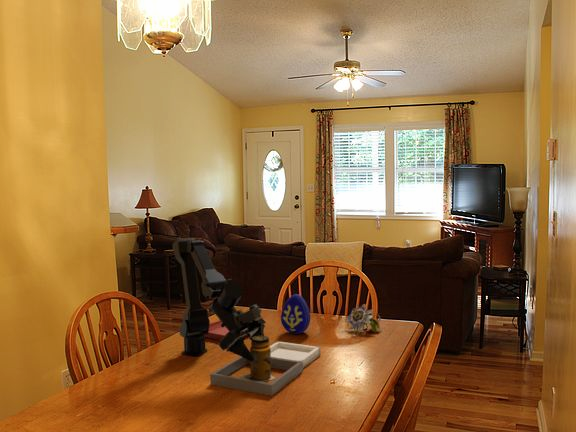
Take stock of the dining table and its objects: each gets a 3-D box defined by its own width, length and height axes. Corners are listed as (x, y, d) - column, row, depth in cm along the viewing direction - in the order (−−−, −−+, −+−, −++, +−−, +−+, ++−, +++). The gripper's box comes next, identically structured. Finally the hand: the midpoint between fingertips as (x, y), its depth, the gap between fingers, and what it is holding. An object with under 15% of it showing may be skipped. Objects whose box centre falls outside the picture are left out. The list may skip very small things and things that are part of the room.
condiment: (276, 378, 153) (276, 338, 153) (251, 385, 149) (250, 343, 148) (263, 371, 159) (263, 332, 159) (239, 377, 155) (238, 337, 154)
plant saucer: (261, 332, 201) (261, 324, 201) (232, 345, 186) (232, 336, 186) (225, 326, 211) (225, 318, 211) (194, 337, 196) (194, 329, 196)
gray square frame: (210, 384, 150) (210, 374, 149) (246, 362, 167) (245, 353, 167) (272, 396, 141) (271, 385, 141) (302, 371, 159) (302, 361, 158)
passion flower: (356, 345, 200) (338, 319, 202) (368, 333, 209) (351, 308, 210) (376, 334, 193) (357, 307, 195) (389, 322, 202) (370, 296, 204)
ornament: (278, 334, 197) (277, 295, 196) (287, 328, 206) (287, 290, 205) (305, 337, 193) (305, 297, 192) (314, 331, 201) (313, 292, 200)
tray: (256, 362, 167) (256, 354, 167) (277, 348, 181) (277, 341, 181) (301, 369, 160) (301, 361, 160) (320, 354, 174) (320, 347, 174)
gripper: (227, 304, 146) (262, 348, 142) (259, 291, 163) (291, 330, 159) (204, 329, 150) (238, 372, 146) (238, 314, 167) (269, 352, 163)
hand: (260, 355), depth 153 cm, fingers open, 9 cm apart
